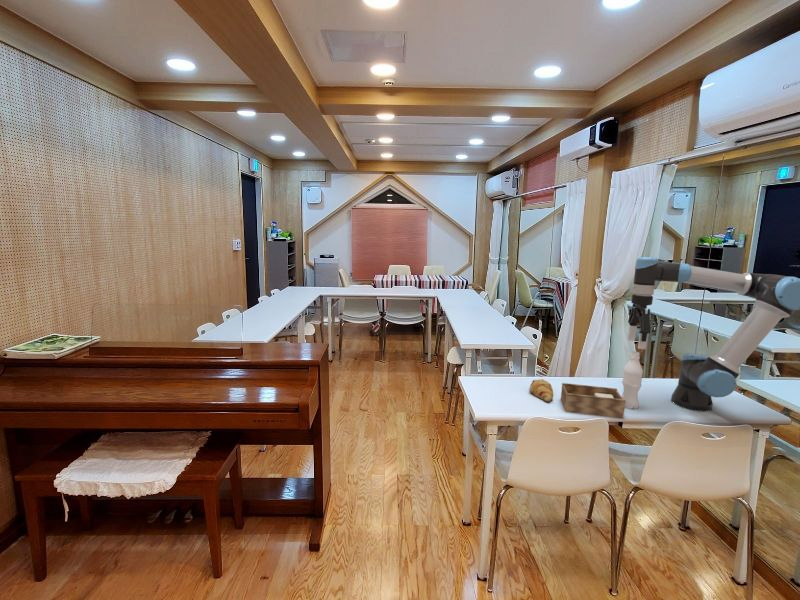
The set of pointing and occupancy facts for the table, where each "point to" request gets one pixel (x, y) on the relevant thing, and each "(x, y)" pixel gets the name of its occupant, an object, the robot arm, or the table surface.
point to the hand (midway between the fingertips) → (636, 344)
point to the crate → (592, 400)
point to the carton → (603, 395)
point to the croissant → (542, 389)
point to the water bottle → (632, 381)
